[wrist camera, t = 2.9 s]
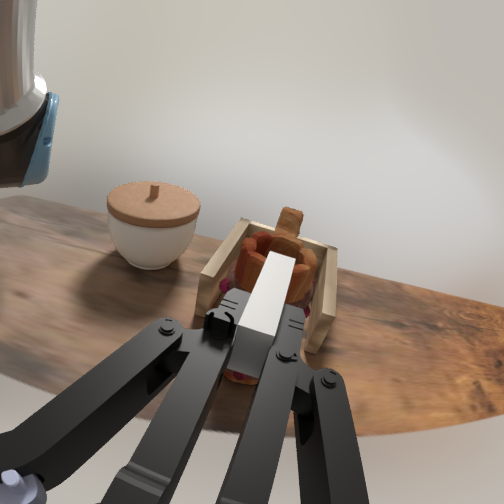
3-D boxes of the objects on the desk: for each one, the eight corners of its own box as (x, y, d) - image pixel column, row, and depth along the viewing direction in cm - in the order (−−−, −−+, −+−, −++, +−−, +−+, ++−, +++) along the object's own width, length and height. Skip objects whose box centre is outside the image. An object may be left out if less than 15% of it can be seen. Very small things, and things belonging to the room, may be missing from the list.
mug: (271, 409, 28) (330, 287, 21) (191, 381, 29) (213, 249, 22) (295, 318, 41) (335, 212, 33) (235, 298, 42) (262, 189, 34)
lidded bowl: (125, 228, 51) (129, 163, 45) (198, 244, 51) (210, 178, 46) (92, 269, 40) (90, 192, 34) (180, 291, 41) (191, 212, 35)
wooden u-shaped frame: (194, 314, 38) (200, 273, 35) (233, 251, 52) (241, 217, 49) (316, 354, 36) (335, 316, 33) (324, 280, 50) (337, 248, 47)
